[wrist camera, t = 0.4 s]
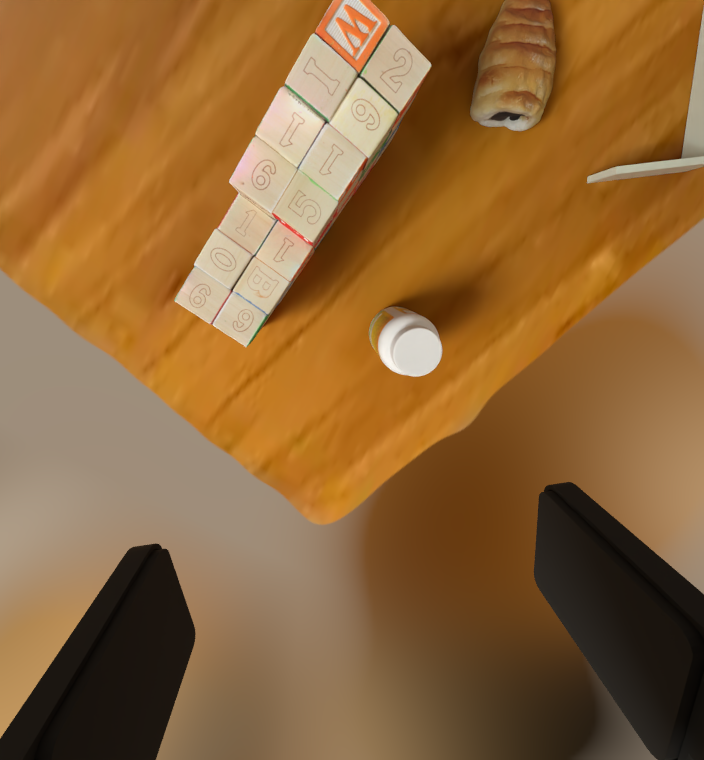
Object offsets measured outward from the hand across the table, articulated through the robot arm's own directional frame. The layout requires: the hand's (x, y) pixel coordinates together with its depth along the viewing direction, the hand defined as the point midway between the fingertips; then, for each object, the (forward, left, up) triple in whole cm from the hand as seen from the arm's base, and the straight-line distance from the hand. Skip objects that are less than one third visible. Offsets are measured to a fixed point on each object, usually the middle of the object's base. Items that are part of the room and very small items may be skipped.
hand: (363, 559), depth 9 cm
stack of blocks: (-12, -1, -30) cm, 32 cm away
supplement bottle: (0, +7, -30) cm, 30 cm away
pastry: (-21, +18, -30) cm, 41 cm away
